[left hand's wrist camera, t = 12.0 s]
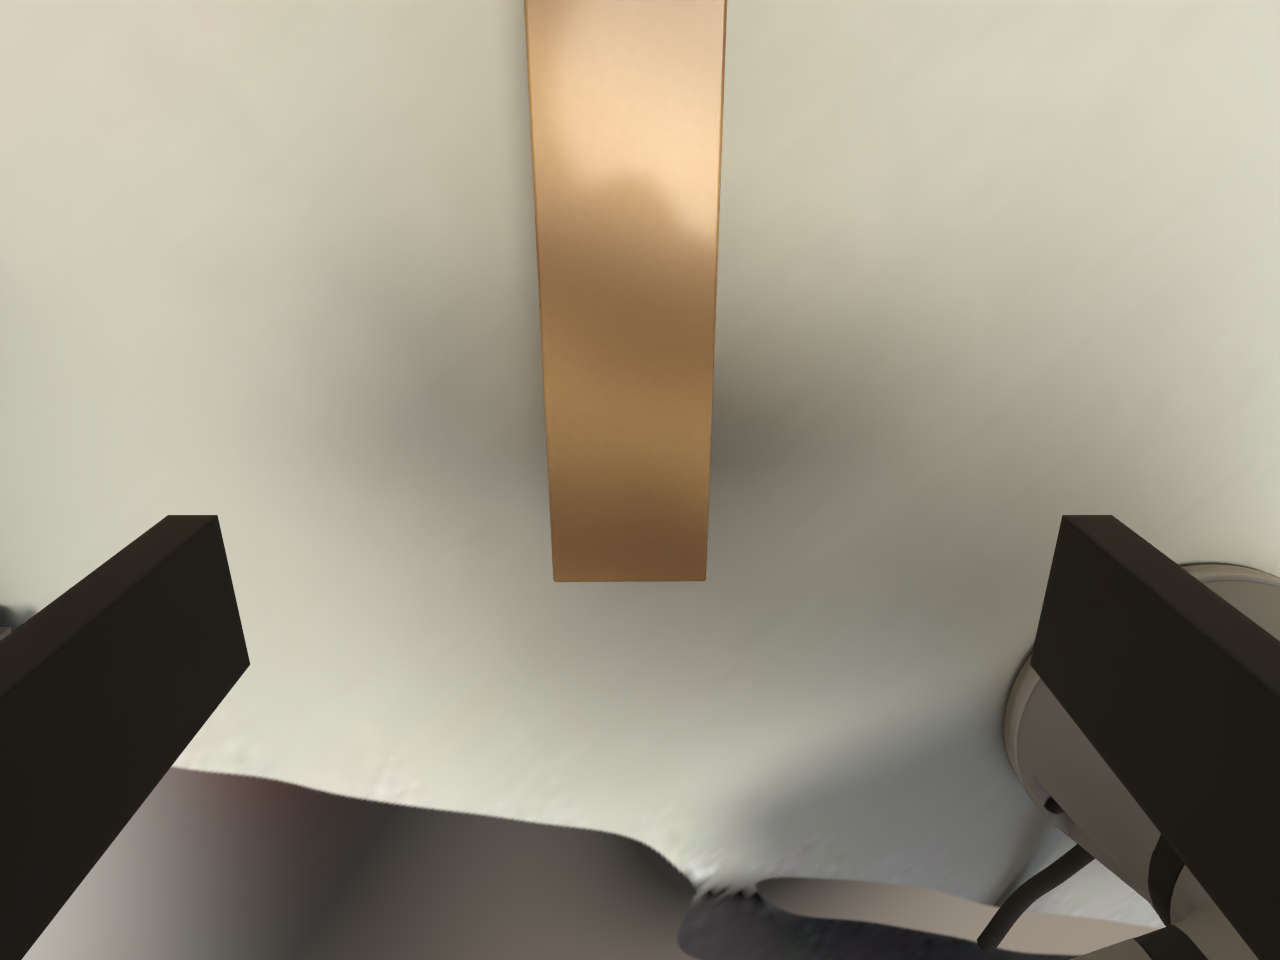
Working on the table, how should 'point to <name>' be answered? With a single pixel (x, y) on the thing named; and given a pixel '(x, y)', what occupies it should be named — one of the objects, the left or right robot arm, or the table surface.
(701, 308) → the bar
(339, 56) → the table surface
